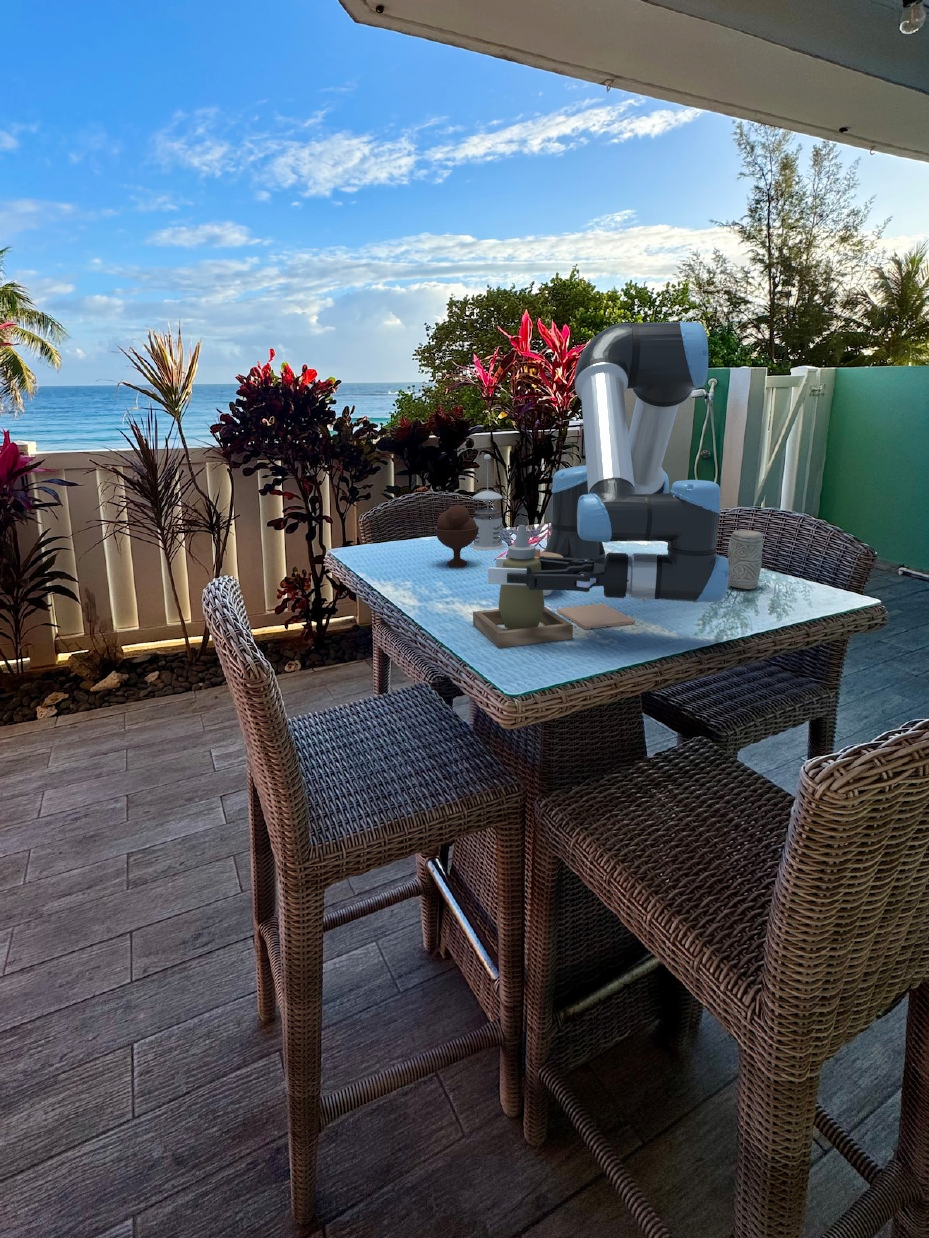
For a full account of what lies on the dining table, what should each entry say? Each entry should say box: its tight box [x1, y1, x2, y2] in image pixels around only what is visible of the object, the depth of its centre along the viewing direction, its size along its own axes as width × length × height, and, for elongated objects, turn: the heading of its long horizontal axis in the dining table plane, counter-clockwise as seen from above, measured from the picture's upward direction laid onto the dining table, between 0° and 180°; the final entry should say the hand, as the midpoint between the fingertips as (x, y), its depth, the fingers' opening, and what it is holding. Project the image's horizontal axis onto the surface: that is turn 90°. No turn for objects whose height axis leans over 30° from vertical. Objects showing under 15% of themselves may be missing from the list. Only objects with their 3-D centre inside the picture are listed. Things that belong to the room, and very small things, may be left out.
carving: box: [727, 529, 764, 590], centre depth 150 cm, size 6×8×12 cm
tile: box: [556, 602, 636, 630], centre depth 133 cm, size 10×12×1 cm
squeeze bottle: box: [498, 524, 545, 630], centre depth 123 cm, size 8×8×18 cm
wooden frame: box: [472, 606, 574, 649], centre depth 126 cm, size 13×13×2 cm
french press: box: [470, 453, 506, 551], centre depth 195 cm, size 10×12×25 cm
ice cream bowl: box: [434, 504, 479, 569], centre depth 175 cm, size 11×11×15 cm
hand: (492, 570), depth 124 cm, fingers closed on squeeze bottle, 6 cm apart
